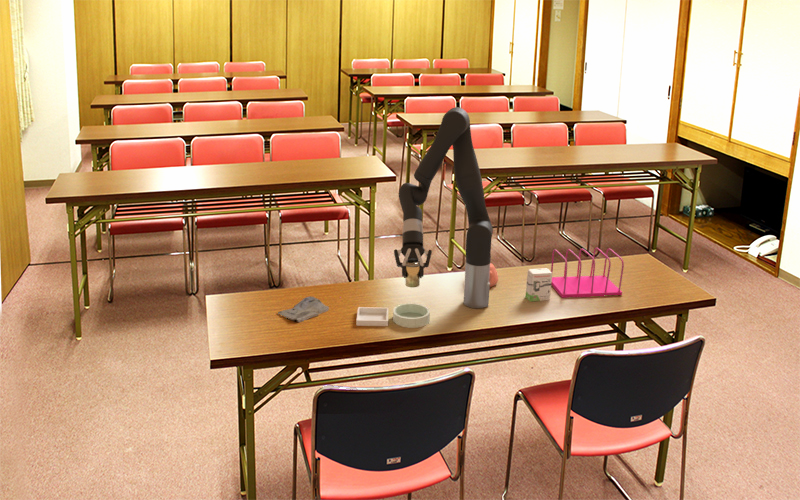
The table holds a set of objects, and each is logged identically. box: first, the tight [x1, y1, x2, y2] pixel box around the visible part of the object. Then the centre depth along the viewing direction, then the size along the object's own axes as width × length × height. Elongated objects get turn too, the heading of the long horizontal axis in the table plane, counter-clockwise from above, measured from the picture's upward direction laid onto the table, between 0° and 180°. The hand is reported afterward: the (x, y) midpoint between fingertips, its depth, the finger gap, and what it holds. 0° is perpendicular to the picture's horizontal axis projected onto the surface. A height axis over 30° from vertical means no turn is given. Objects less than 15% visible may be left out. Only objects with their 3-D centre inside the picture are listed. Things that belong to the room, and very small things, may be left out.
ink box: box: [524, 267, 553, 302], centre depth 278 cm, size 9×5×12 cm, turn 102°
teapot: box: [489, 262, 499, 288], centre depth 293 cm, size 12×18×10 cm
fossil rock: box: [277, 296, 330, 323], centre depth 265 cm, size 18×15×2 cm
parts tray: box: [355, 306, 389, 327], centre depth 259 cm, size 11×11×2 cm
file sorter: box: [550, 247, 625, 299], centre depth 288 cm, size 17×25×16 cm
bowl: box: [392, 302, 431, 329], centre depth 258 cm, size 13×13×4 cm
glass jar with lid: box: [405, 260, 421, 288], centre depth 253 cm, size 5×5×8 cm
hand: (412, 277), depth 251 cm, fingers closed on glass jar with lid, 5 cm apart
